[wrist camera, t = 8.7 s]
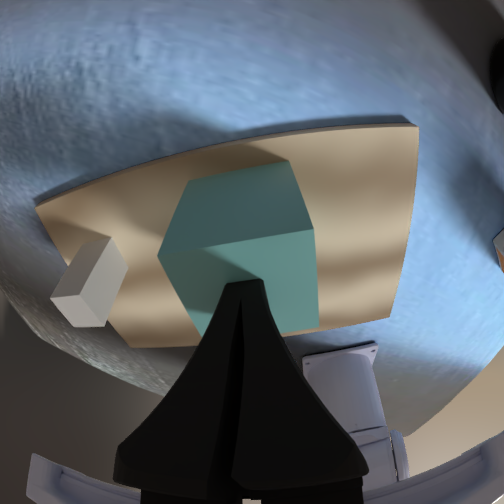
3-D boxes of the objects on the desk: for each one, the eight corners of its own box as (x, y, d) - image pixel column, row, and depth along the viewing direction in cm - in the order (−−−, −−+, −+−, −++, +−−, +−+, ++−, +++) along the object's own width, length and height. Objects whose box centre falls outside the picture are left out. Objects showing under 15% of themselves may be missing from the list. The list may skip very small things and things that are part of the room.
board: (386, 310, 22) (389, 317, 21) (132, 341, 25) (131, 347, 24) (411, 123, 12) (419, 126, 12) (40, 202, 15) (34, 208, 14)
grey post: (128, 267, 17) (104, 326, 14) (100, 272, 18) (74, 327, 14) (111, 237, 16) (79, 295, 12) (82, 243, 16) (49, 298, 12)
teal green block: (300, 242, 16) (319, 327, 12) (215, 257, 17) (204, 341, 12) (289, 160, 13) (314, 229, 8) (188, 180, 14) (157, 255, 9)
